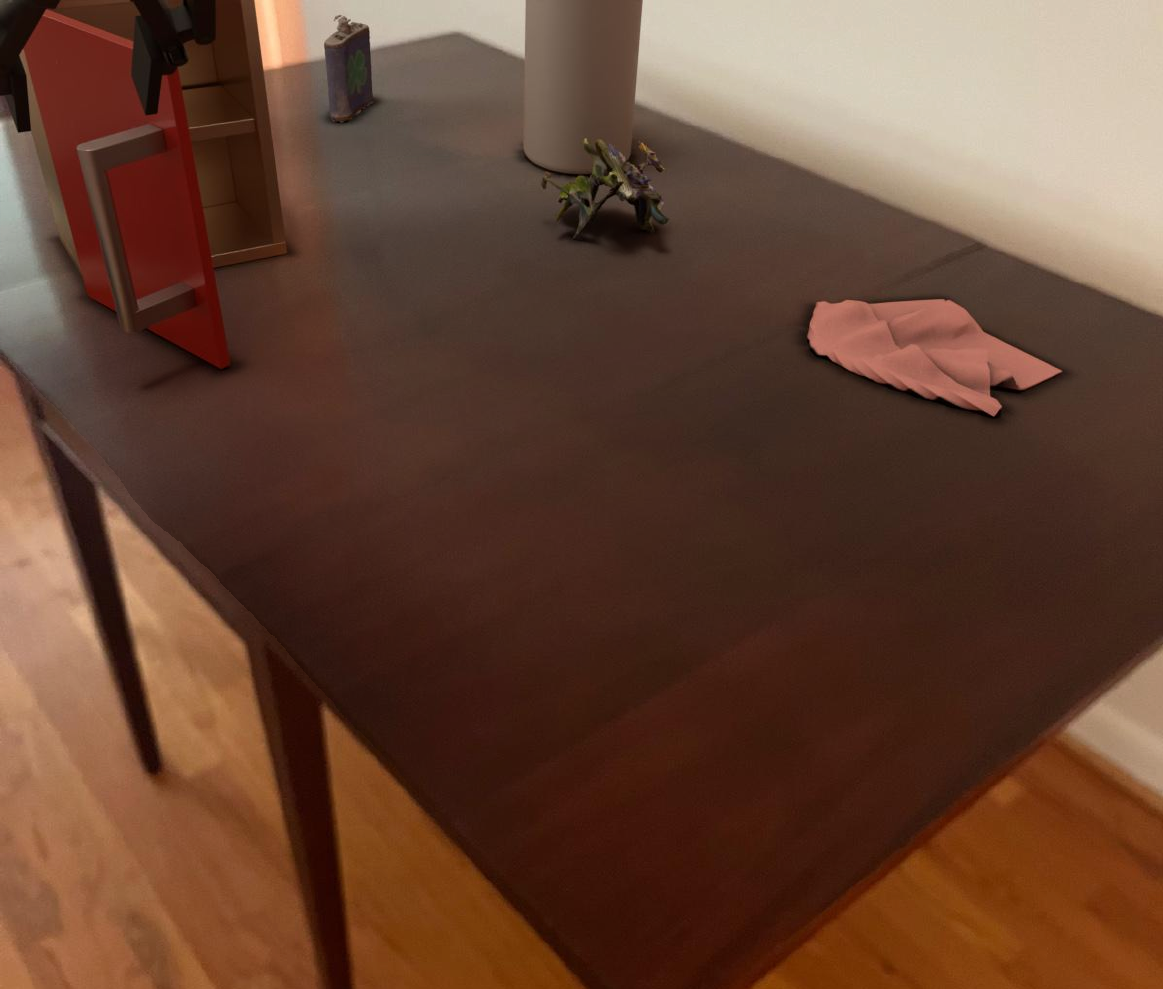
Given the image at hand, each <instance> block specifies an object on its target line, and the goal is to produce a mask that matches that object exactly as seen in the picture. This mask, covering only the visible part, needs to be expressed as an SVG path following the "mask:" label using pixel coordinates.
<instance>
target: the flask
mask: <svg viewBox="0 0 1163 989" xmlns="http://www.w3.org/2000/svg"><path fill="white" fill-rule="evenodd" d="M336 20H337V22H338V24H337V26H336V31H335V32H333V34H331V35H329V37H327V38H326V40H325V41H324V43H323V48H324V58H325V69H326V81H327V90H328V104H329V117H330V120H331V121H332V122H334V123H336V122H340V123H342V124H343V123H344V122H346V121H351V120H353V118H354V116H357V115H359V114H360V113H361V112H362V109H363V110H365V109H366V107H369V106H370V105H372V104H374V96H373V94H374V93H373V80H372V79H373V78H372V76H373V74H372V57H371V55H372V54H371V40H370V39H371V35H370V34H371V32H370V31H371V30H370V27H369V25H368V24H365V23H362V22H355V21H352V22H351V18H347V16H346V15H342V14H338V15H336V16H334V18H333V21H334V22H336Z"/></svg>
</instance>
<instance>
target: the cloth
mask: <svg viewBox="0 0 1163 989" xmlns="http://www.w3.org/2000/svg"><path fill="white" fill-rule="evenodd" d="M806 339H807V340H809V347H810V348H811V350H812V351H813V352H814V353H815V354H816V356H823V357H825V356H826V357H827V358H829V360H831V361H832V362H833V363H835V364H837V365H838V366H841V367H842V368H844V369H846V370H847V371H849V372H851V373H853V374H855V375H859V376H862V377H866V378H868V379H869V380H871V381H873V382H874V383H877V384H882V385H887V386H892V388H894V389H896V390H899V391H902V392H906V393H911V394H918V395H919V396H921V397H923V398H924V399H927V400H930V401H934V402H943V403H947V404H951V405H954V406H957V407H959V408H962V409H963V410H970V411H979V412H985V413H987V414H988V415H990V416H992V417H995V416H996V415H997V414H998V412H999V411H1000V410H1001V409H1002V407H1003V406H1002V405H1001V403H1000V402H999V400H998V399H996V398H995V397H992V396H991V387H999V388H1005V389H1011V390H1017V391H1025V390H1027V389H1029V388H1032V387H1034V386H1036V385H1038V384H1041V383H1043V382H1045V381H1047V380H1049V379H1052V378H1053V377H1055V376H1057V375H1060V374H1061V373H1062V372H1063V370H1061V369H1059V368H1057V367H1055V366H1054V365H1051V364H1049V363H1047V362H1045V361H1043V360H1041V359H1040V358H1037V357H1036V356H1033V355H1031V354H1029V353H1027V352H1025V351H1023V350H1021V349H1019V348H1017V347H1015V346H1013V345H1011V344H1009V343H1006V342H1004V341H1002V340H1001V339H999V338H997V337H995V336H993V335H991V334H989V333H987V332H984V331H983V329H982V328H981V327H980V325H979V323H978V322H977V321H976V320H975V318H974V317H973V316H972V315H971V314H970V313H969V312H968V311H967V310H966V309H965V308H964V307H962V306H961V305H959V304H957V303H955V302H954V301H952V300H951V299H947V300H945V299H944V298H939V299H937V298H936V299H918V300H903V301H901V300H900V301H887V302H878V303H877V302H876V303H868V302H867V301H861V300H852V299H845V300H843V301H841V302H836V303H830V302H828V301H826V300H822V301H818V302H817V301H816V302H815V307H814V309H813V311H812V317H811V319H810V322H809V328H808V333H807V334H806Z"/></svg>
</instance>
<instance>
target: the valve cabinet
mask: <svg viewBox="0 0 1163 989" xmlns="http://www.w3.org/2000/svg"><path fill="white" fill-rule="evenodd" d="M166 1H167V2H168V4H169V6H170V9H172V8H176V7H179V6H182V3H181V0H166ZM215 2H216V38H215V40H214V41H213V42H212V43H210V44H207V45H199V44H197V43H196V42H195V39H194V40H190V41H188V42H186V43H184V44H183V45H184V48H185V51H186V54H187V56H188V62H187V63H186V64H185V65H183V66H180V67H178V70H179V76H180V81H181V87H182V93H183V98H184V104H185V110H186V115H187V121H188V127H189V132H190V138H191V144H192V149H193V155H194V161H195V166H196V172H197V177H198V183H199V189H200V194H201V200H202V206H203V211H204V217H205V223H206V228H207V234H208V240H209V245H210V251H211V257H212V262H213V268H214V269H215V268H220V267H225V266H226V267H227V266H231V265H235V264H240V263H241V264H242V263H247V262H250V261H251V262H252V261H256V260H262V259H266V258H267V259H268V258H271V257H276V256H281V255H286V254H288V249H287V242H286V235H285V227H284V225H285V224H284V218H283V211H282V210H283V209H282V202H281V196H280V187H279V179H278V172H277V164H276V156H275V148H274V141H273V133H272V126H271V116H270V111H269V110H270V109H269V102H268V94H267V87H266V79H265V70H264V63H263V57H262V56H263V55H262V47H261V40H260V35H259V34H260V33H259V23H258V17H257V9H256V1H255V0H215ZM47 10H50V11H53V12H55V13H58V14H61V15H63V16H66V17H69V18H71V19H74V20H77V21H80V22H82V23H85V24H88V25H90V26H93V27H96V28H98V29H101V30H104V31H106V32H109V33H112V34H114V35H117V36H120V37H123V38H125V39H128V40H131V41H134V27H135V16H141V14H140V12H139V11H138V9H137V8H136V6H135V4H134V3H133V1H132V2H131V1H130V0H60V2H59V4H58V5H57V7H56V8H55V9H48V8H47ZM19 56H20V59H21V61H22V64H23V67H24V70H25V72H26V76H27V88H28V99H29V111H30V123H31V131H30V132H31V136H32V141H33V143H34V147H35V151H36V155H37V158H38V162H39V167H40V169H41V174H42V177H43V181H44V184H45V188H46V191H47V192H46V193H47V196H48V199H49V200H48V201H49V204H50V208H51V211H52V214H53V219H54V222H55V225H56V229H57V234H58V237H59V240H60V241H61V243H62V245H63V247H64V249H65V250H66V252H67V254H68V256H69V257H70V259H71V261H72V262H73V264H74V266H75V267H76V269H77V272H78V273H79V275H80V276H81V278H82V279H83V276H82V272H81V268H80V264H79V261H78V257H77V253H76V249H75V245H74V241H73V238H72V234H71V230H70V226H69V222H68V218H67V215H66V211H65V207H64V203H63V199H62V195H61V191H60V188H59V184H58V180H57V176H56V172H55V168H54V165H53V161H52V157H51V153H50V149H49V145H48V142H47V138H46V134H45V130H44V126H43V122H42V118H41V115H40V111H39V107H38V103H37V99H36V95H35V92H34V88H33V84H32V80H31V76H30V72H29V68H28V65H27V61H26V57H25V53H24V49H23V50H22V51H21V53H20V55H19Z"/></svg>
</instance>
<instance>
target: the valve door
mask: <svg viewBox="0 0 1163 989" xmlns="http://www.w3.org/2000/svg"><path fill="white" fill-rule="evenodd" d="M23 49H24V53H25V57H26V61H27V65H28V68H29V72H30V76H31V80H32V84H33V88H34V92H35V95H36V99H37V103H38V107H39V111H40V115H41V118H42V122H43V126H44V130H45V134H46V138H47V142H48V145H49V149H50V153H51V157H52V161H53V165H54V168H55V172H56V176H57V180H58V184H59V188H60V191H61V195H62V199H63V203H64V207H65V211H66V215H67V218H68V222H69V226H70V230H71V234H72V238H73V241H74V245H75V249H76V253H77V257H78V261H79V264H80V268H81V272H82V276H83V278H82V279H83V283H84V287H85V291H86V296H87V297H89V299H92V300H94V301H96V302H98V303H100V304H101V305H103V306H105V307H106V308H109V309H111V310H112V311H114V312H115V313H116V315H117V319H118V324H119V328H120V330H121V331H122V333H126V334H134V333H138V332H140V331H143V330H144V329H147V330H148V331H151V332H153V333H154V334H156V335H158V336H160V337H162V338H163V339H165V340H166V341H169V342H171V343H172V344H175V345H176V346H178V347H180V348H181V349H183V350H185V351H186V352H188V353H190V354H193V355H194V356H196V357H198V358H200V359H202V360H204V361H206V362H207V363H209V364H211V365H212V366H214V367H216V368H218V369H219V370H222V369H224V368H227V367H229V366H231V358H230V354H229V348H228V342H227V338H226V332H225V330H226V329H225V326H224V319H223V314H222V308H221V302H220V297H219V291H218V286H217V280H216V274H215V268H213V262H212V257H211V251H210V245H209V240H208V234H207V228H206V223H205V217H204V211H203V206H202V200H201V194H200V189H199V183H198V177H197V172H196V166H195V161H194V155H193V149H192V144H191V138H190V132H189V127H188V121H187V115H186V110H185V104H184V98H183V93H182V87H181V81H180V76H179V70H178V67H177V70H176V71H175V72H174V73H173V74H170V75H162V81H161V89H160V97H159V105H158V113H157V114H153V115H146V116H145V113H144V110H143V107H142V104H141V102H140V99H139V96H138V93H137V90H136V88H135V85H134V82H133V79H132V76H131V67H132V54H133V41H131V40H128V39H125V38H123V37H120V36H117V35H114V34H112V33H109V32H106V31H104V30H101V29H98V28H96V27H93V26H90V25H88V24H85V23H82V22H80V21H77V20H74V19H71V18H69V17H66V16H63V15H61V14H58V13H55V12H53V11H50V10H47V9H46V10H45V12H44V14H43V16H42V17H41V19H40V21H39V22H38V24H37V26H36V28H35V29H34V31H33V33H32V34H31V36H30V38H29V40H28V41H27V43H26V45H25V46H24V48H23ZM82 276H81V277H82Z"/></svg>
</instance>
